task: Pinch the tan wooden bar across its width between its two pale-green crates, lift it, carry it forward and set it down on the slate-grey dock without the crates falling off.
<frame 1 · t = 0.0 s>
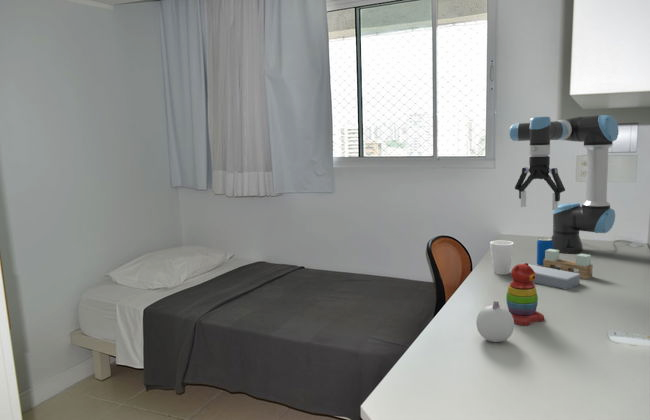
hand: (538, 208, 202), 28 cm above the table, fingers open, 13 cm apart
ornament: (495, 341, 144), on the table
crate b: (583, 264, 200), point 5 cm above the table, touching tan wooden bar
dock: (545, 280, 197), on the table
tan wooden bar: (567, 273, 206), on the table, touching crate a, crate b
crate a: (552, 259, 210), point 5 cm above the table, touching tan wooden bar
stacking bear: (522, 319, 159), on the table
beverage can: (544, 266, 220), on the table
foam cup: (501, 272, 212), on the table
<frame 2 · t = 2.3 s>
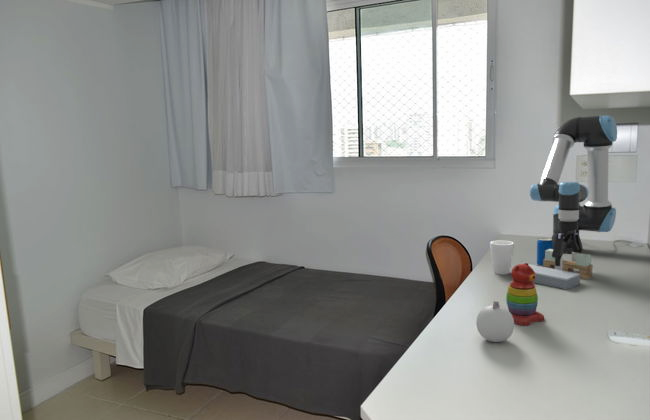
hand: (566, 270, 205), 1 cm above the table, fingers open, 13 cm apart
nothing on the table moved.
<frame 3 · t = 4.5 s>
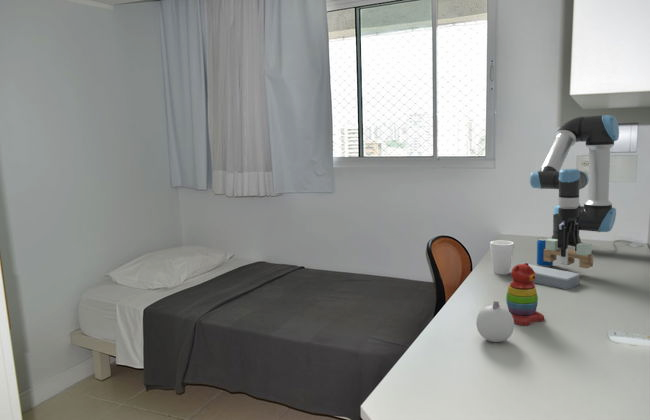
hand: (567, 262, 205), 5 cm above the table, fingers closed on tan wooden bar, 5 cm apart
crate b: (583, 254, 199), point 9 cm above the table, touching tan wooden bar
tan wooden bar: (567, 263, 205), point 4 cm above the table, touching crate a, crate b, gripper
crate a: (552, 249, 210), point 9 cm above the table, touching tan wooden bar
everything else where it was.
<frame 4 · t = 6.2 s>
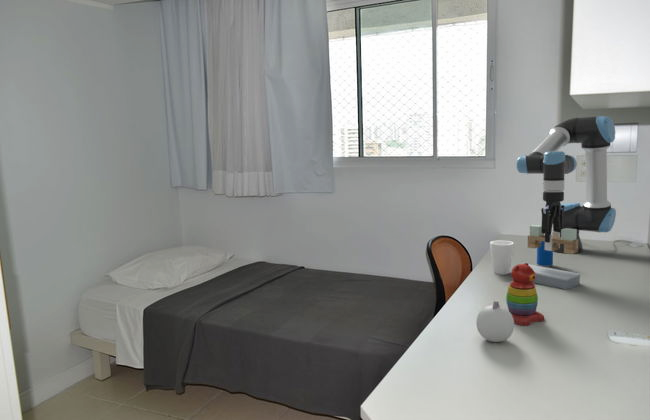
hand: (552, 248, 198), 12 cm above the table, fingers closed on tan wooden bar, 5 cm apart
crate b: (568, 239, 192), point 17 cm above the table, touching tan wooden bar
tan wooden bar: (552, 249, 198), point 12 cm above the table, touching crate a, crate b, gripper
crate a: (536, 235, 202), point 17 cm above the table, touching tan wooden bar
everything else where it was.
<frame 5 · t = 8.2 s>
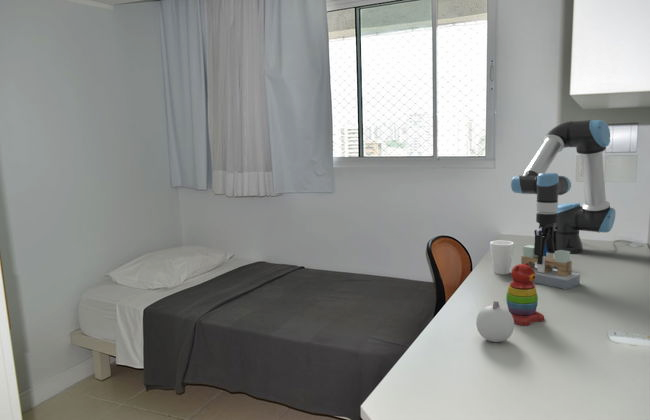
hand: (545, 270, 197), 4 cm above the table, fingers open, 6 cm apart
crate b: (562, 261, 191), point 9 cm above the table, touching tan wooden bar
tan wooden bar: (545, 271, 197), point 4 cm above the table, touching crate a, crate b, dock, gripper
crate a: (530, 256, 201), point 9 cm above the table, touching tan wooden bar
everything else where it was.
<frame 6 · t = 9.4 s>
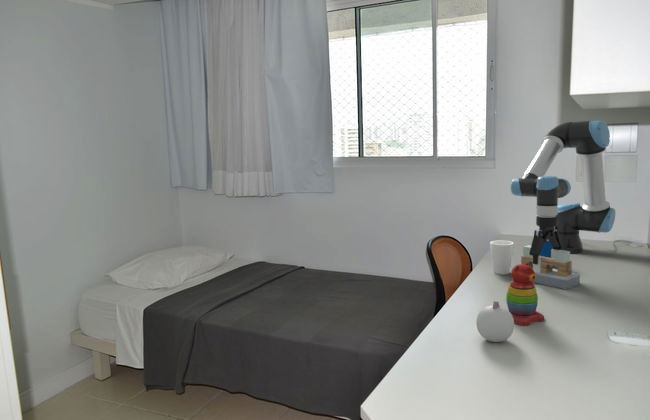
hand: (545, 268, 197), 5 cm above the table, fingers open, 13 cm apart
tan wooden bar: (545, 271, 197), point 4 cm above the table, touching crate a, crate b, dock
everything else where it was.
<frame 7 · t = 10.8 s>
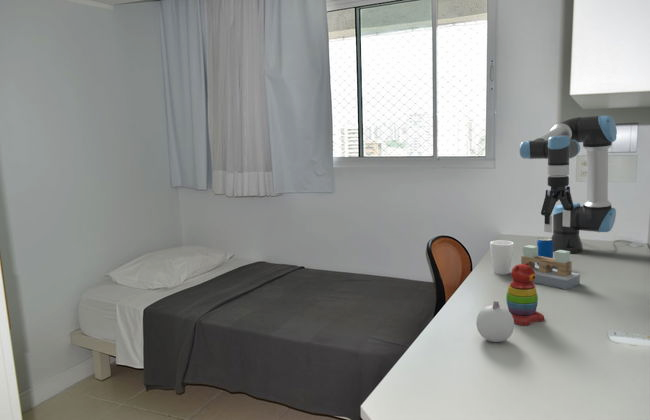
hand: (557, 229, 197), 20 cm above the table, fingers open, 13 cm apart
nothing on the table moved.
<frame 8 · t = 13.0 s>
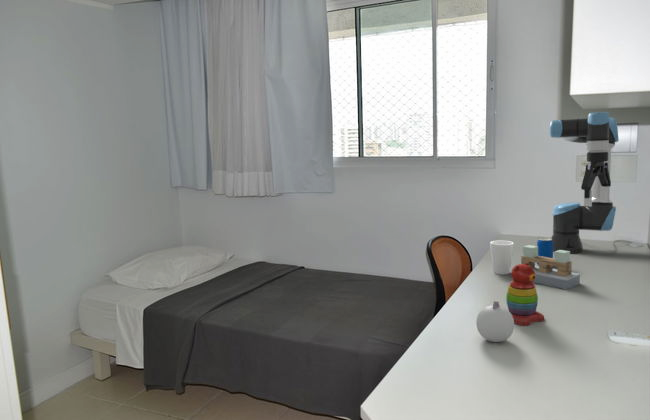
hand: (595, 204, 201), 29 cm above the table, fingers open, 13 cm apart
nothing on the table moved.
at the end: tan wooden bar inside the target area on the dock (0.1 cm from its centre), point 4.0 cm above the dock's base; crate a point 9.0 cm above the table; crate b point 9.0 cm above the table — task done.
